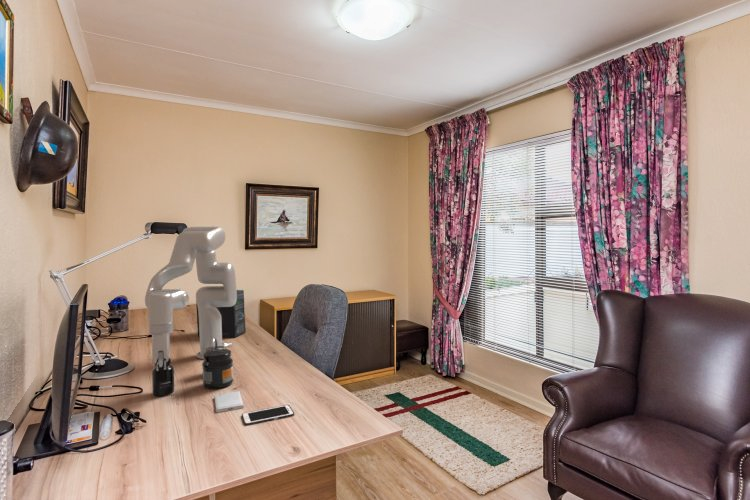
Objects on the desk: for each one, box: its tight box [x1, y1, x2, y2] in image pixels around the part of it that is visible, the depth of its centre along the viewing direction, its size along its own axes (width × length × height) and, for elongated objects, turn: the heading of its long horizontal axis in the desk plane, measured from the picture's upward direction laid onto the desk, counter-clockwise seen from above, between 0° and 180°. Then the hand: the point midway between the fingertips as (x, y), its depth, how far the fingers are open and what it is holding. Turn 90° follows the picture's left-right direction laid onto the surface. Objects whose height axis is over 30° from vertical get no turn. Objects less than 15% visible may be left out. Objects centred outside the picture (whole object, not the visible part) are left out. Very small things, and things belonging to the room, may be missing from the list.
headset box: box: [195, 289, 247, 338], centre depth 225 cm, size 22×12×26 cm, turn 81°
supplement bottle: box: [151, 357, 175, 398], centre depth 143 cm, size 7×7×12 cm
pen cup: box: [205, 339, 224, 352], centre depth 163 cm, size 7×7×14 cm
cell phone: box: [241, 404, 295, 426], centre depth 125 cm, size 8×15×1 cm, turn 115°
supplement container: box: [201, 348, 234, 390], centre depth 151 cm, size 10×10×12 cm
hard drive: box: [214, 391, 245, 414], centre depth 134 cm, size 2×8×12 cm
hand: (162, 377), depth 143 cm, fingers open, 9 cm apart
